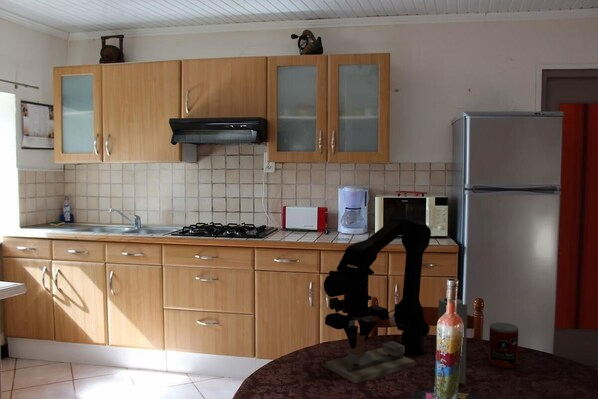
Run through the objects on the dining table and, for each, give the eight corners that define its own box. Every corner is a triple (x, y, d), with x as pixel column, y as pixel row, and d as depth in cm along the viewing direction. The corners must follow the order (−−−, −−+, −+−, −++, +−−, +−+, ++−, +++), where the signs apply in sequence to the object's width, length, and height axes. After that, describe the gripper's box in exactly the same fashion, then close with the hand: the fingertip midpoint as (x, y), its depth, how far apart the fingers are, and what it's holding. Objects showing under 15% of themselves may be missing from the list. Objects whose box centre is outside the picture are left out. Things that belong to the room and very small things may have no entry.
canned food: (488, 366, 144) (489, 328, 143) (489, 357, 151) (490, 321, 151) (517, 370, 141) (518, 332, 140) (516, 360, 148) (518, 324, 148)
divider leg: (359, 360, 143) (359, 331, 142) (370, 366, 139) (371, 336, 138) (347, 363, 141) (348, 334, 140) (359, 369, 136) (360, 339, 136)
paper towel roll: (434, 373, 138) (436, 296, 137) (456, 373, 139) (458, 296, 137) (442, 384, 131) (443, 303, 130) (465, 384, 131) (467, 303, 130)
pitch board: (383, 352, 155) (383, 335, 154) (414, 366, 144) (415, 348, 144) (325, 367, 143) (325, 349, 142) (355, 383, 132) (355, 364, 131)
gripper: (364, 282, 151) (363, 333, 152) (313, 290, 141) (312, 345, 142) (390, 289, 142) (389, 344, 143) (338, 298, 132) (337, 357, 132)
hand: (357, 347), depth 140 cm, fingers closed on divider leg, 3 cm apart
